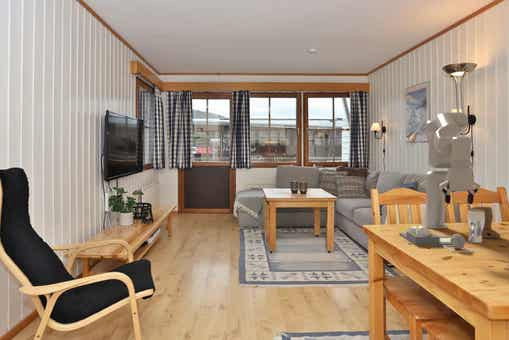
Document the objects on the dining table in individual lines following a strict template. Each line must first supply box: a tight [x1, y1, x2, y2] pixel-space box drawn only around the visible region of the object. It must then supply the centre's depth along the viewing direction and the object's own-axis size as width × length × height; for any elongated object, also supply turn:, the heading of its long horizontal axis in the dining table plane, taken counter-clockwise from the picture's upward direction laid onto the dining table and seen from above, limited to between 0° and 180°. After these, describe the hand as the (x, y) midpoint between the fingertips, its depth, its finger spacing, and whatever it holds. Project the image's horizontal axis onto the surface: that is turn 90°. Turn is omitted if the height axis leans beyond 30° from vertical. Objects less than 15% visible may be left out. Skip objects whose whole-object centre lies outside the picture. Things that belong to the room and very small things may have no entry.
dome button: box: [416, 225, 431, 236], centre depth 179 cm, size 6×6×6 cm
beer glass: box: [467, 209, 485, 244], centre depth 181 cm, size 7×7×15 cm
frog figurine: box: [450, 233, 467, 250], centre depth 168 cm, size 6×7×7 cm
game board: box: [398, 225, 475, 253], centre depth 179 cm, size 31×21×5 cm
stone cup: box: [470, 205, 502, 239], centre depth 192 cm, size 15×12×15 cm
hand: (458, 203), depth 167 cm, fingers open, 9 cm apart
